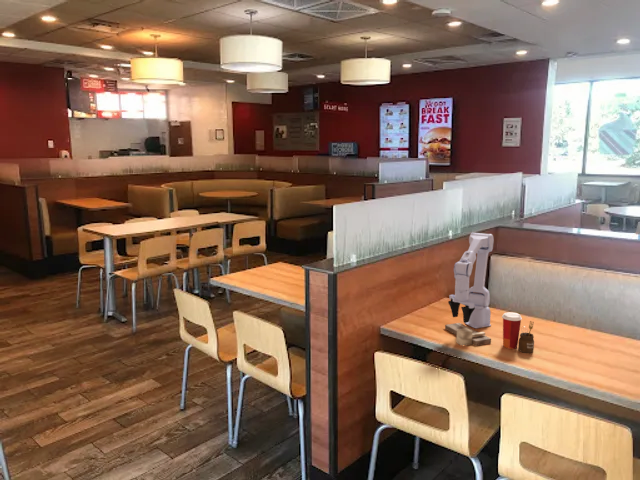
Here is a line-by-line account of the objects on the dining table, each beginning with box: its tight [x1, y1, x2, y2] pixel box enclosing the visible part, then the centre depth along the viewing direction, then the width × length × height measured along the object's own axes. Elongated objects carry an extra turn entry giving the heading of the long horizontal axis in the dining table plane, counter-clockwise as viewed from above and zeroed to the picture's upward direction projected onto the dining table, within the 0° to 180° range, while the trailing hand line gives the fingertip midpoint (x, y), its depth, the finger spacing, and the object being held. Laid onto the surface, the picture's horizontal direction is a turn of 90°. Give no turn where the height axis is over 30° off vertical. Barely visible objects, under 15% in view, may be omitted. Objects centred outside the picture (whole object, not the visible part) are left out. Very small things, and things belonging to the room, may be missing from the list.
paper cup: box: [501, 311, 523, 350], centre depth 214 cm, size 8×8×14 cm
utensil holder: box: [517, 320, 535, 354], centre depth 210 cm, size 6×6×12 cm
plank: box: [444, 322, 492, 346], centre depth 228 cm, size 8×22×2 cm, turn 21°
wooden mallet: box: [455, 328, 486, 347], centre depth 220 cm, size 13×4×6 cm, turn 111°
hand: (460, 319), depth 222 cm, fingers open, 7 cm apart
